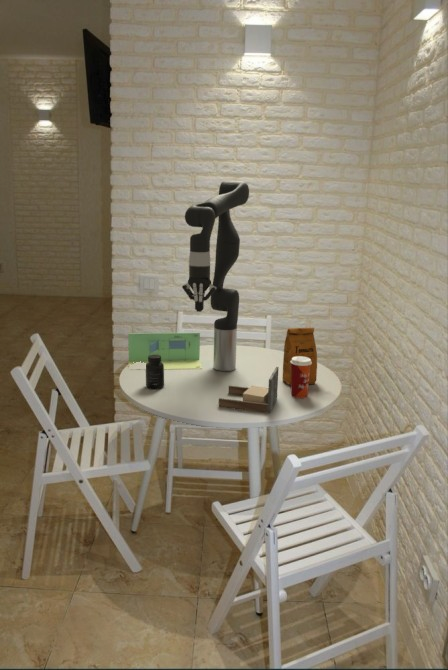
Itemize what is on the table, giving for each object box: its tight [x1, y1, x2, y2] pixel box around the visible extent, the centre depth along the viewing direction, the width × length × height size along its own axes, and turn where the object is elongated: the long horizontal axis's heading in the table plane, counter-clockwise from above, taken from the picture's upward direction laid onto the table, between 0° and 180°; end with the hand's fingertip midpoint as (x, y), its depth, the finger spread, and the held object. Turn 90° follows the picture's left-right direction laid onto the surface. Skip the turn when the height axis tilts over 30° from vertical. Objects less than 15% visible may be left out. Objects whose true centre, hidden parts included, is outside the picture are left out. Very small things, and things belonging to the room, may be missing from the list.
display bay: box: [218, 366, 280, 414], centre depth 207 cm, size 14×18×12 cm
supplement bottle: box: [145, 355, 165, 391], centre depth 221 cm, size 7×7×12 cm
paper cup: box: [290, 356, 312, 399], centre depth 215 cm, size 8×8×14 cm
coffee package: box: [282, 327, 318, 386], centre depth 228 cm, size 10×12×22 cm
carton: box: [242, 385, 269, 404], centre depth 208 cm, size 9×8×5 cm
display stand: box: [127, 332, 203, 371], centre depth 247 cm, size 30×12×12 cm, turn 97°
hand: (199, 311), depth 217 cm, fingers closed
